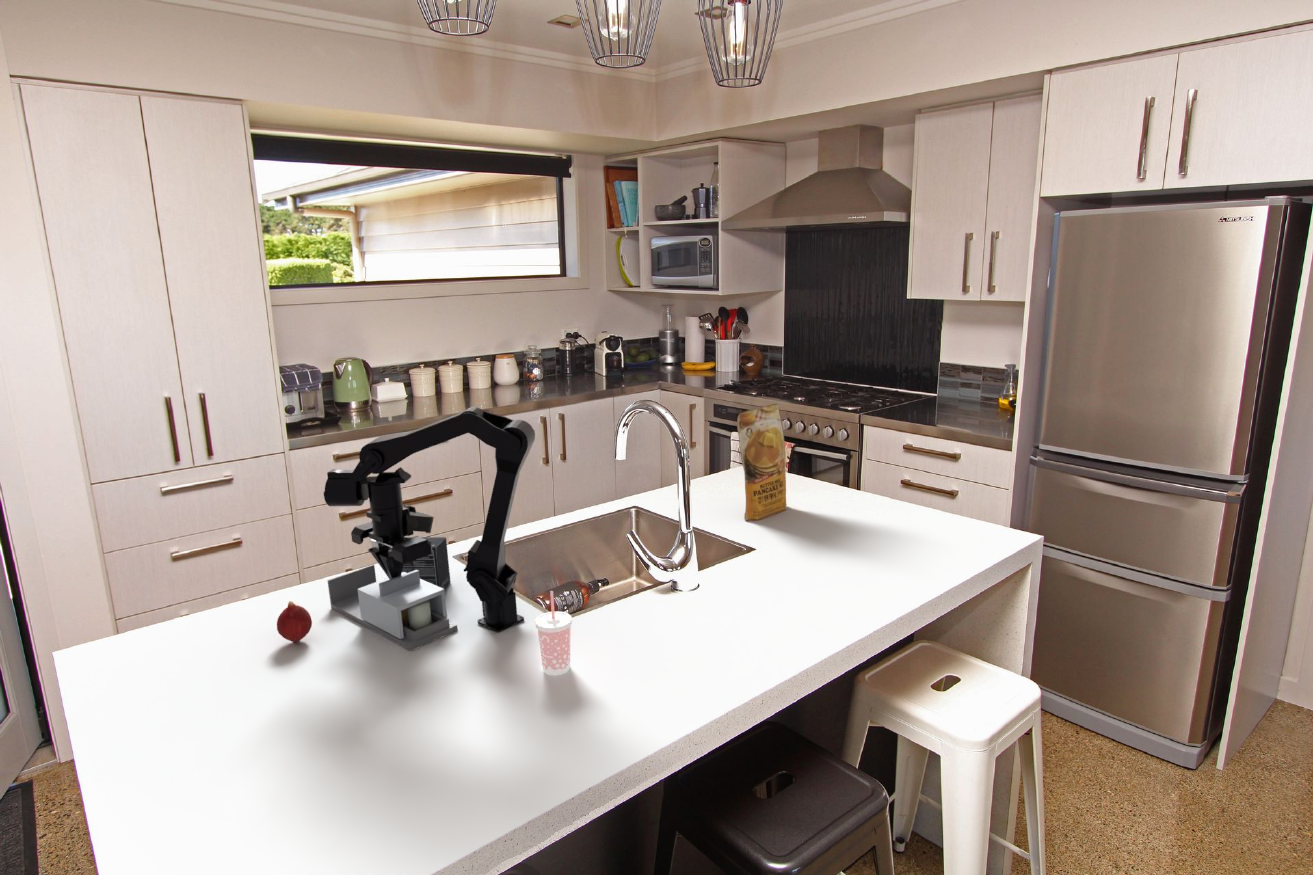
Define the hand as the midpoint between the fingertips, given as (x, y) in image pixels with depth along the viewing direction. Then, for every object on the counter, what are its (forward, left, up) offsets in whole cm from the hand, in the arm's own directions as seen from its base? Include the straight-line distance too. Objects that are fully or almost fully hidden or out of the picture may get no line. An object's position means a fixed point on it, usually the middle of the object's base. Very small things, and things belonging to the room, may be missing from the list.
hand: (395, 583), depth 150 cm
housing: (+3, 0, -8) cm, 8 cm away
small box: (+11, -12, -8) cm, 18 cm away
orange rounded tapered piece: (-2, 0, -7) cm, 7 cm away
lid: (-2, 0, -7) cm, 7 cm away
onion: (+9, +16, -8) cm, 20 cm away
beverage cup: (-37, -7, -8) cm, 38 cm away
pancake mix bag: (-21, -94, -8) cm, 97 cm away
